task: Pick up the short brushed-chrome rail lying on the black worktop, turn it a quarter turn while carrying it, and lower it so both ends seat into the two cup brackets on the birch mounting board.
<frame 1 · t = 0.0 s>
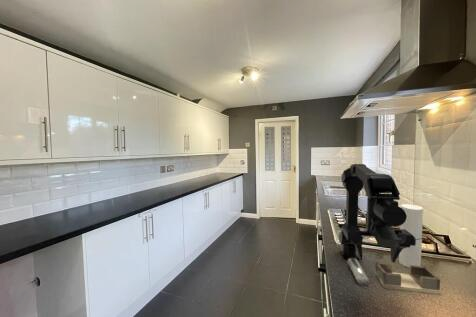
hand: (376, 260, 67), 15 cm above the worktop, fingers open, 9 cm apart
rail: (357, 270, 82), point 2 cm above the worktop
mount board: (405, 283, 76), on the worktop
cylindrical container: (409, 264, 88), on the worktop
cup brackets: (405, 275, 76), on the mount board, point 3 cm above the worktop
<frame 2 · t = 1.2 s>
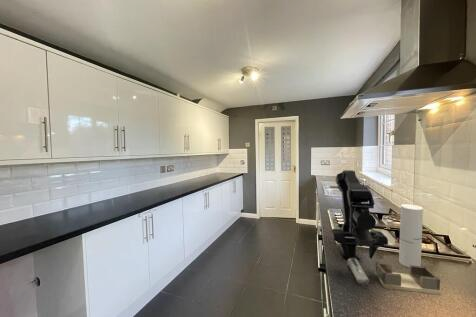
hand: (357, 257, 81), 7 cm above the worktop, fingers open, 9 cm apart
nothing on the worktop moved.
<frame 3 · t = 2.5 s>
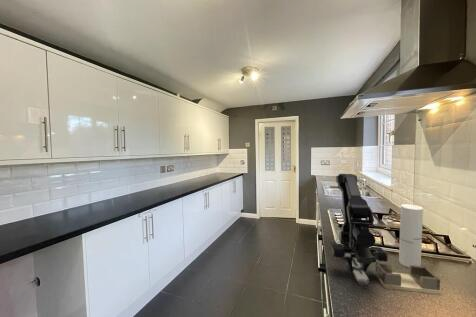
hand: (357, 272, 82), 1 cm above the worktop, fingers closed on rail, 4 cm apart
rail: (357, 270, 82), point 2 cm above the worktop, touching gripper
everything else where it was.
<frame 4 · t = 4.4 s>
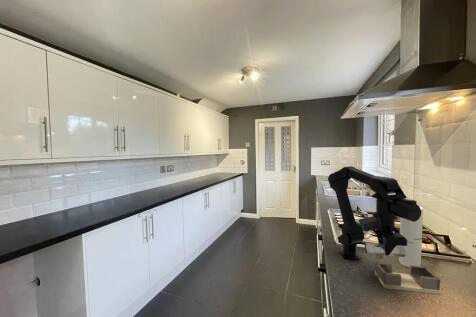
hand: (384, 252, 78), 11 cm above the worktop, fingers closed on rail, 4 cm apart
rail: (384, 249, 78), point 12 cm above the worktop, touching gripper
everything else where it was.
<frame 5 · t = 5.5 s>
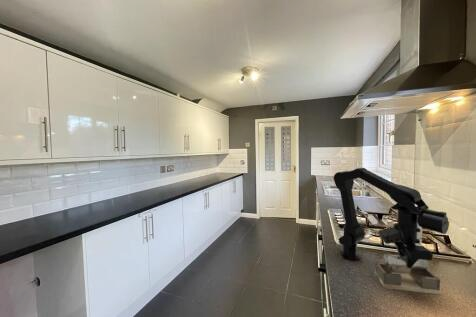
hand: (405, 264, 76), 7 cm above the worktop, fingers closed on rail, 4 cm apart
rail: (405, 261, 76), point 8 cm above the worktop, touching gripper
everything else where it was.
when the fingers open (4 cm above the worktop, at t = 6.3 s): rail drops 1 cm, resting on cup brackets.
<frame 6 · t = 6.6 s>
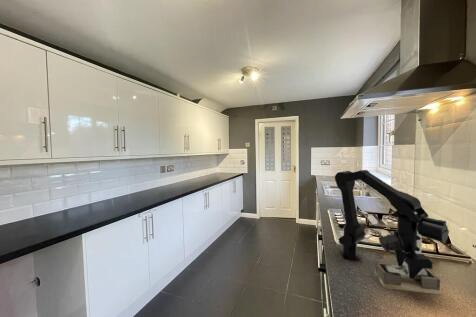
hand: (405, 271, 76), 4 cm above the worktop, fingers open, 7 cm apart
rail: (405, 272, 76), point 4 cm above the worktop, touching cup brackets
everything else where it was.
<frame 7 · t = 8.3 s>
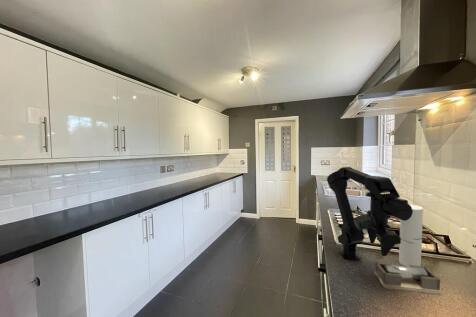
hand: (377, 249, 80), 11 cm above the worktop, fingers open, 9 cm apart
nothing on the worktop moved.
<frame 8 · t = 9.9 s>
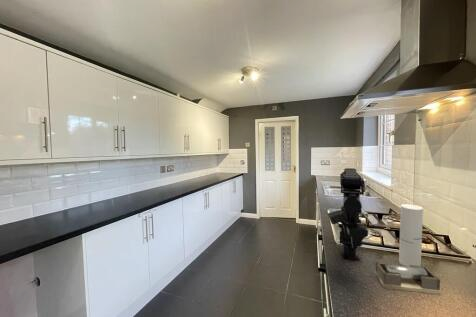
hand: (350, 243, 83), 12 cm above the worktop, fingers open, 9 cm apart
nothing on the worktop moved.
at the end: rail 0.1 cm off-centre on the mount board, point 4.2 cm above the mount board's base; the gripper is holding nothing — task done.
